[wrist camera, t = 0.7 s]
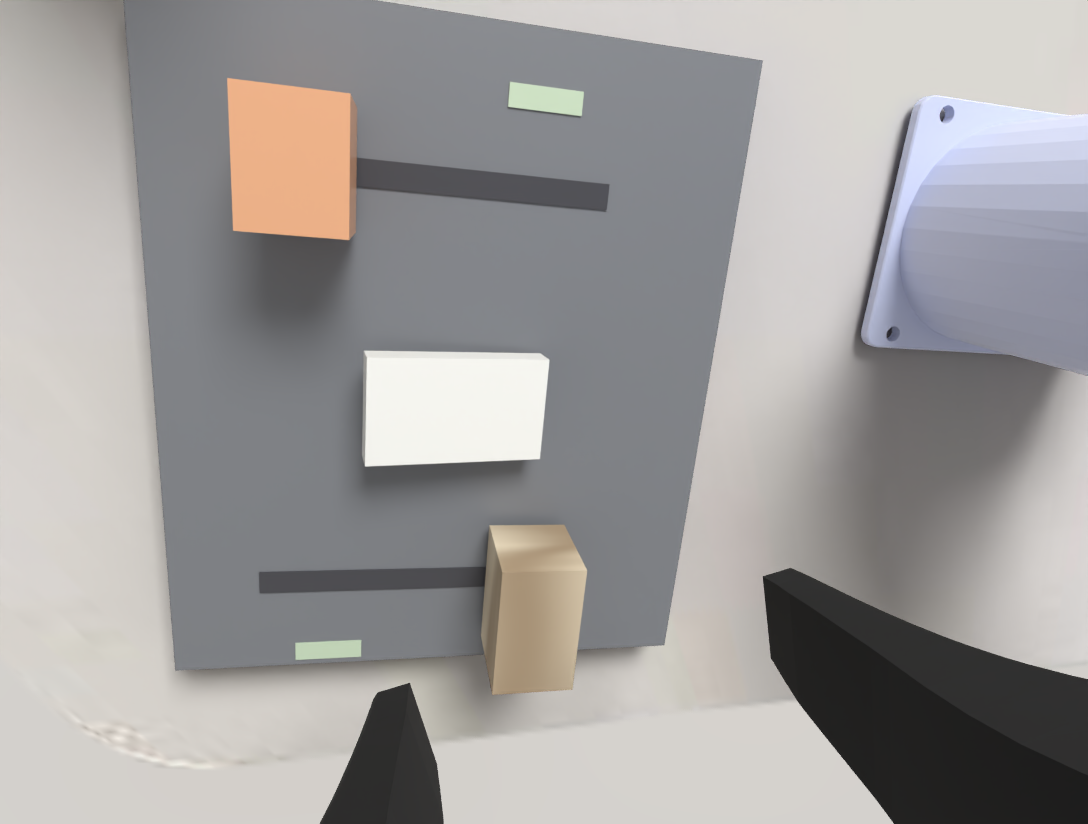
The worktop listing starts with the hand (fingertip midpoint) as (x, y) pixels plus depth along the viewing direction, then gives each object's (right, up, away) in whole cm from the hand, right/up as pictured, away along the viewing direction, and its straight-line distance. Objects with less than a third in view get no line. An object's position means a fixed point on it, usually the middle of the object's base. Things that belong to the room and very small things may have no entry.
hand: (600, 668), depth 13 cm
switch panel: (-4, +6, +8) cm, 11 cm away
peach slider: (-7, +11, +4) cm, 14 cm away
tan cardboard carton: (-2, 0, +9) cm, 9 cm away
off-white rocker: (-4, +5, +6) cm, 9 cm away
